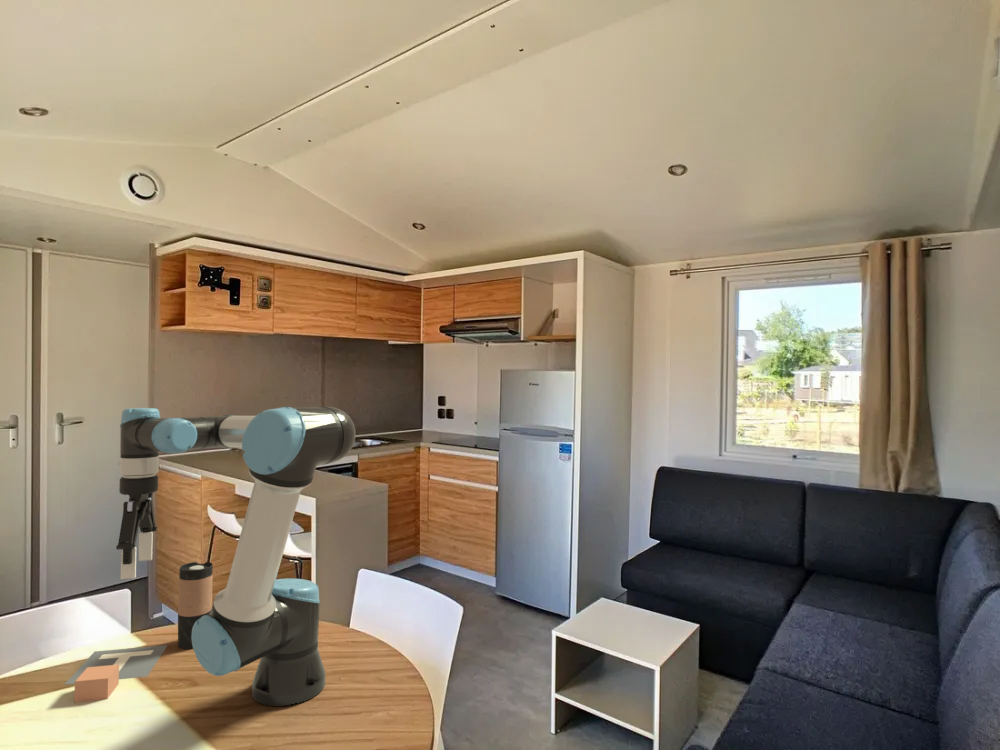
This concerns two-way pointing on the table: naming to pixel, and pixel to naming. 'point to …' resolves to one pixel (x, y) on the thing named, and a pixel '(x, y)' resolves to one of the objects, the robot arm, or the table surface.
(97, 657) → the letter mat
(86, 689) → the terracotta block
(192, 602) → the travel mug
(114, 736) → the table surface
